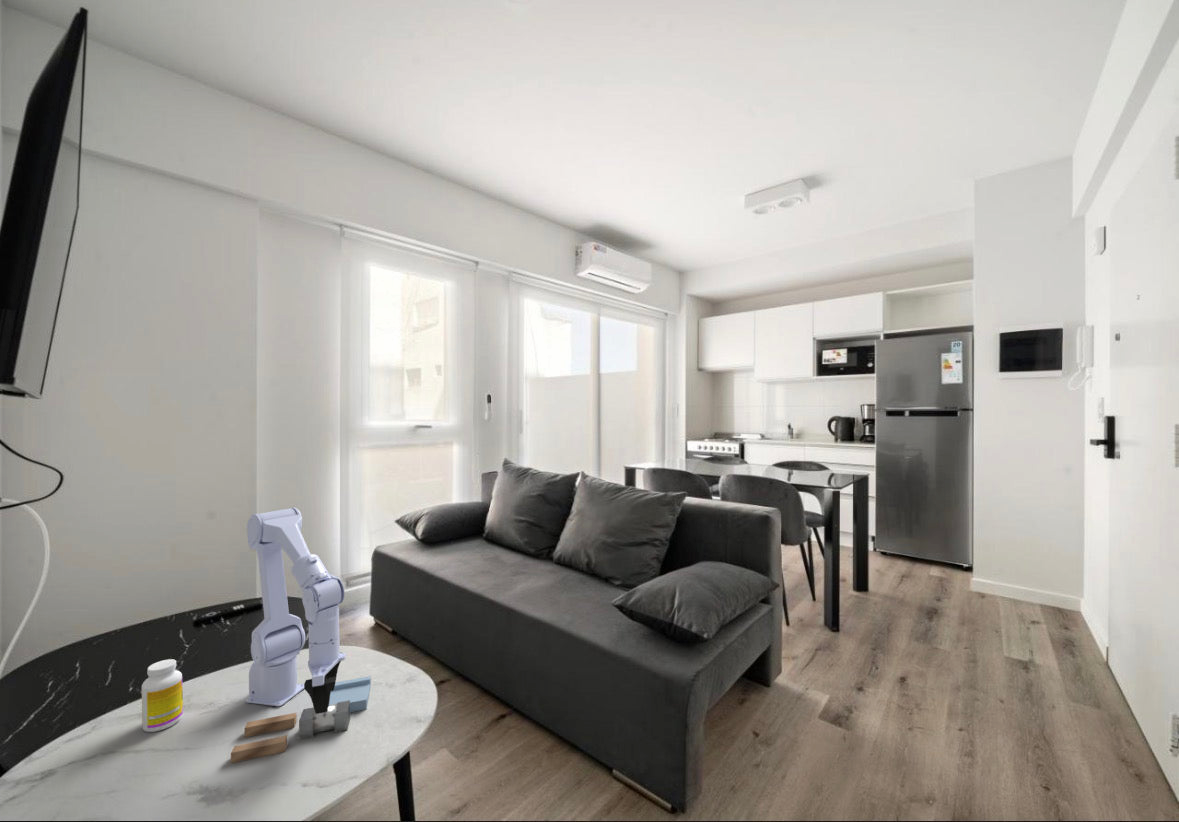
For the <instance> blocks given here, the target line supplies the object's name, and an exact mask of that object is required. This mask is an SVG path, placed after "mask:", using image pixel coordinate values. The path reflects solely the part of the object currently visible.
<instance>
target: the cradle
mask: <svg viewBox="0 0 1179 822" xmlns="http://www.w3.org/2000/svg"><path fill="white" fill-rule="evenodd" d="M371 686H372V676H371V675H370V676H369V675H368V676H363V677H358V678H352V679H347V680H342V681H336V682H335V687H334V690H333V691H331V694H330V701H329V705H333V704H337V703H339V702H344V701H349V700H350V713H353V712H354V713H355V712H359V711H364V710H365V711H366V710H367V709H368V703H369V697H370V692H371V691H370V690H371Z"/></svg>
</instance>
